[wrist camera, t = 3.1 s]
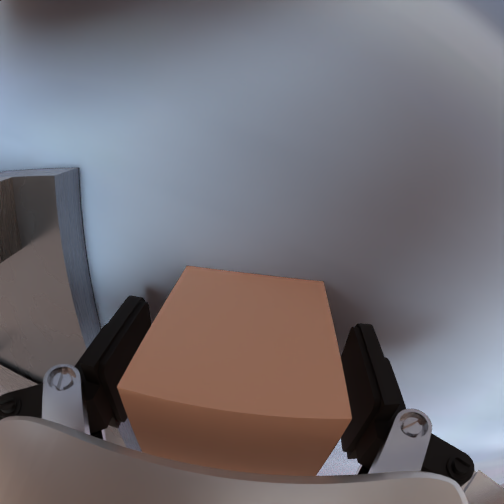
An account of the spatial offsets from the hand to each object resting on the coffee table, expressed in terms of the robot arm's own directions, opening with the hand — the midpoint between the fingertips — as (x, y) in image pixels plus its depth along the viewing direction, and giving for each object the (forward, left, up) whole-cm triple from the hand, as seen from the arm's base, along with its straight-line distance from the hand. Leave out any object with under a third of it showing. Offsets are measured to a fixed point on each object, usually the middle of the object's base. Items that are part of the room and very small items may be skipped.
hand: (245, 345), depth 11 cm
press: (+4, -14, -1) cm, 15 cm away
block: (0, 0, -1) cm, 1 cm away
